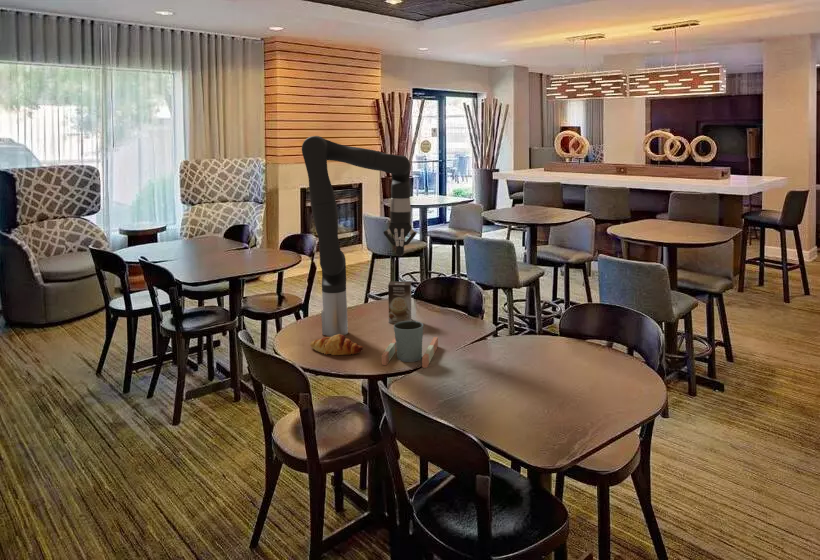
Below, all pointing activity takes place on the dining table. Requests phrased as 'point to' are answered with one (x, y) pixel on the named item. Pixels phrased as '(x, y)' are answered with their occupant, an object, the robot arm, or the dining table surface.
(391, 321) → the coffee box
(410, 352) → the grey green cup
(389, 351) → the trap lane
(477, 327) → the dining table surface
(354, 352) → the croissant
